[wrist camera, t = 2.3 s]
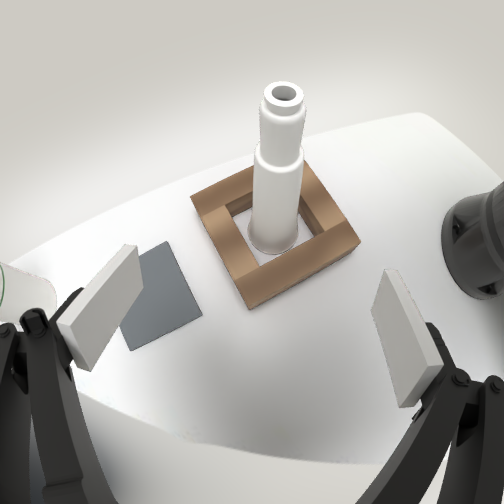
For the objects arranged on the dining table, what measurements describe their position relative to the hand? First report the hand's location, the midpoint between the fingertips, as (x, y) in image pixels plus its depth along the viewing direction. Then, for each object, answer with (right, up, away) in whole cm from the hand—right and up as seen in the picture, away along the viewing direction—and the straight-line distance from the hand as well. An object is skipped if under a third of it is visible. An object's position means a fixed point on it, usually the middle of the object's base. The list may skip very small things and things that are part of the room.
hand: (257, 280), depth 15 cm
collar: (+2, +4, +21) cm, 21 cm away
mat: (-13, -4, +19) cm, 23 cm away
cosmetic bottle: (+2, +4, +21) cm, 21 cm away
